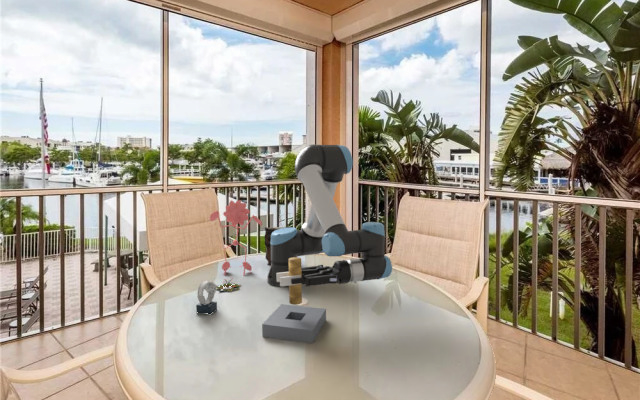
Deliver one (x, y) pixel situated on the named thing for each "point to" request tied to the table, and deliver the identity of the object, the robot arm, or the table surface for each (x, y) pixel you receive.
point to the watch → (207, 304)
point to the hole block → (294, 323)
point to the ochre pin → (296, 290)
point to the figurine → (235, 215)
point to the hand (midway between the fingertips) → (278, 279)
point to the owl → (267, 242)
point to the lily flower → (229, 285)
